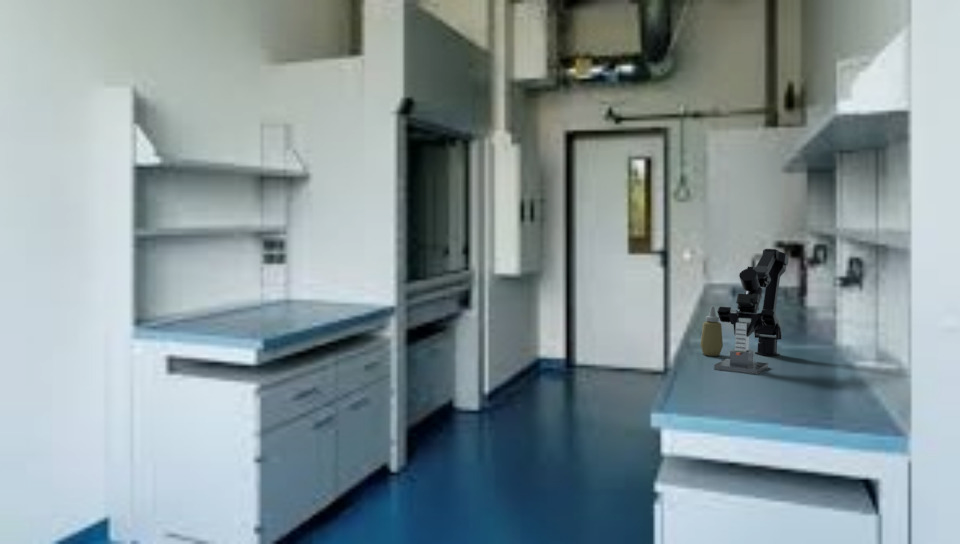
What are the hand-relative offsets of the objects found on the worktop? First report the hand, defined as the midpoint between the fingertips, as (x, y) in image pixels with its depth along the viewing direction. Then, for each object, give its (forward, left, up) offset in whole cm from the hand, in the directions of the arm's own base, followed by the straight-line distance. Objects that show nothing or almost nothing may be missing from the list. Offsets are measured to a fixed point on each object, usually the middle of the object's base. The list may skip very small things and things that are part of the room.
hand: (741, 335), depth 253 cm
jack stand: (-1, -1, -11) cm, 12 cm away
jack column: (-1, -1, -6) cm, 6 cm away
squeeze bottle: (-10, -25, -12) cm, 29 cm away
